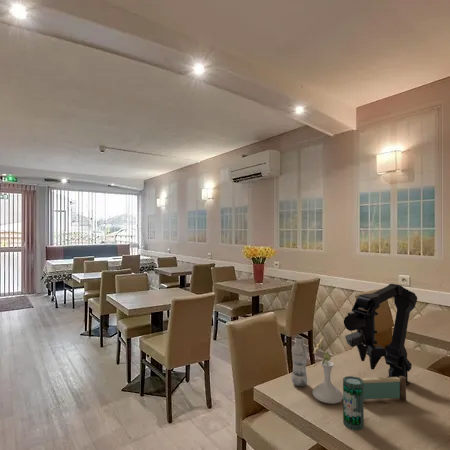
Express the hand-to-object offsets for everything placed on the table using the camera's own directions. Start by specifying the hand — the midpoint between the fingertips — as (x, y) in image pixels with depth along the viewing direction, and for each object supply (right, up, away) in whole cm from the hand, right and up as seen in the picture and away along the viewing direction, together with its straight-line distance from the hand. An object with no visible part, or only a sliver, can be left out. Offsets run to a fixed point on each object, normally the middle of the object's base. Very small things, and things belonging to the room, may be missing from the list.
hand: (367, 365), depth 129 cm
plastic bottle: (-26, -11, +6) cm, 29 cm away
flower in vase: (-19, -11, -6) cm, 22 cm away
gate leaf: (+2, -9, -7) cm, 12 cm away
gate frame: (+2, -11, -7) cm, 13 cm away
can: (-14, -11, -21) cm, 28 cm away
